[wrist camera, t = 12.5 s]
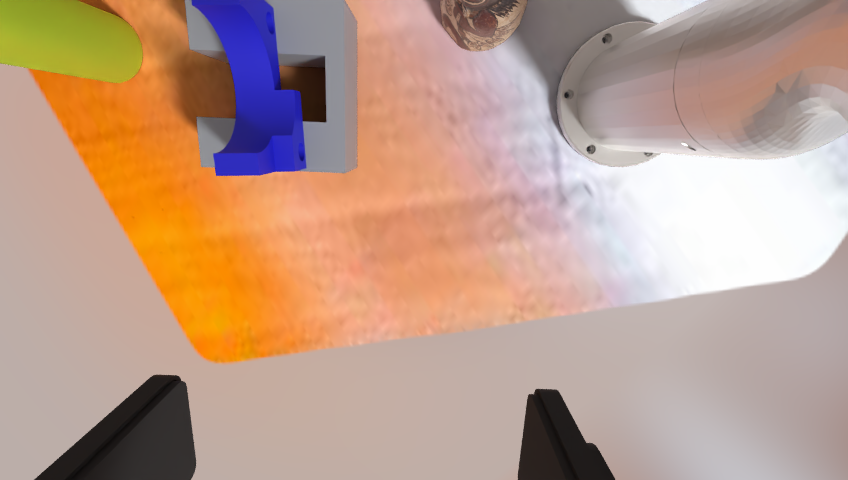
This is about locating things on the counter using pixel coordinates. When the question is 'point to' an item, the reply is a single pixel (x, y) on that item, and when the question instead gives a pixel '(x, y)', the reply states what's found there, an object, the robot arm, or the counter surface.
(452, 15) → the figurine
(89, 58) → the soap dispenser
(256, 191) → the counter surface
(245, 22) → the cable clip
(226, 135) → the slotted block
